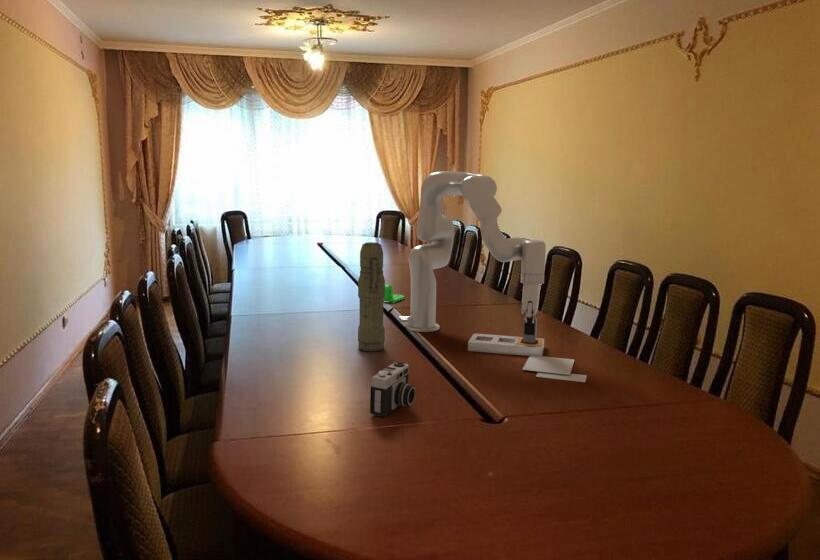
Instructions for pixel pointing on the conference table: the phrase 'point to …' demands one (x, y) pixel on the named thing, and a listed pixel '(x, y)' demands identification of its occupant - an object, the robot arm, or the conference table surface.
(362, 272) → the stone statue
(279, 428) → the conference table surface
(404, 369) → the camera
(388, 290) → the mechanical part
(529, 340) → the peg
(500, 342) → the white compartment tray
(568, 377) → the paper stack
